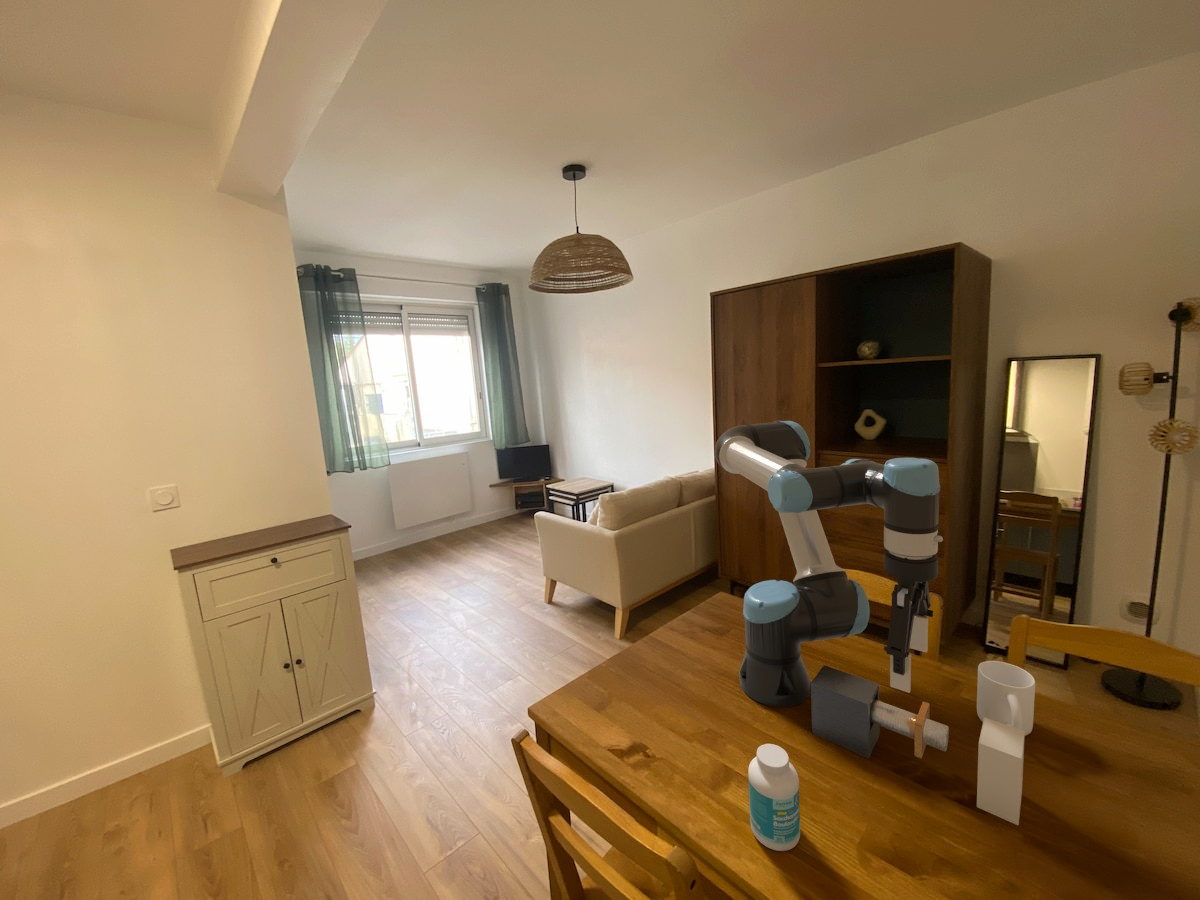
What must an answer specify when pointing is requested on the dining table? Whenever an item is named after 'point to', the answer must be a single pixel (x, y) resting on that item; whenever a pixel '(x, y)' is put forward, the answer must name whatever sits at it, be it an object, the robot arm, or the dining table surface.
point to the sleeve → (844, 710)
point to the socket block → (1000, 770)
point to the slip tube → (911, 725)
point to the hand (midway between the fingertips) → (909, 668)
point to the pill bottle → (774, 798)
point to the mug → (1006, 695)
